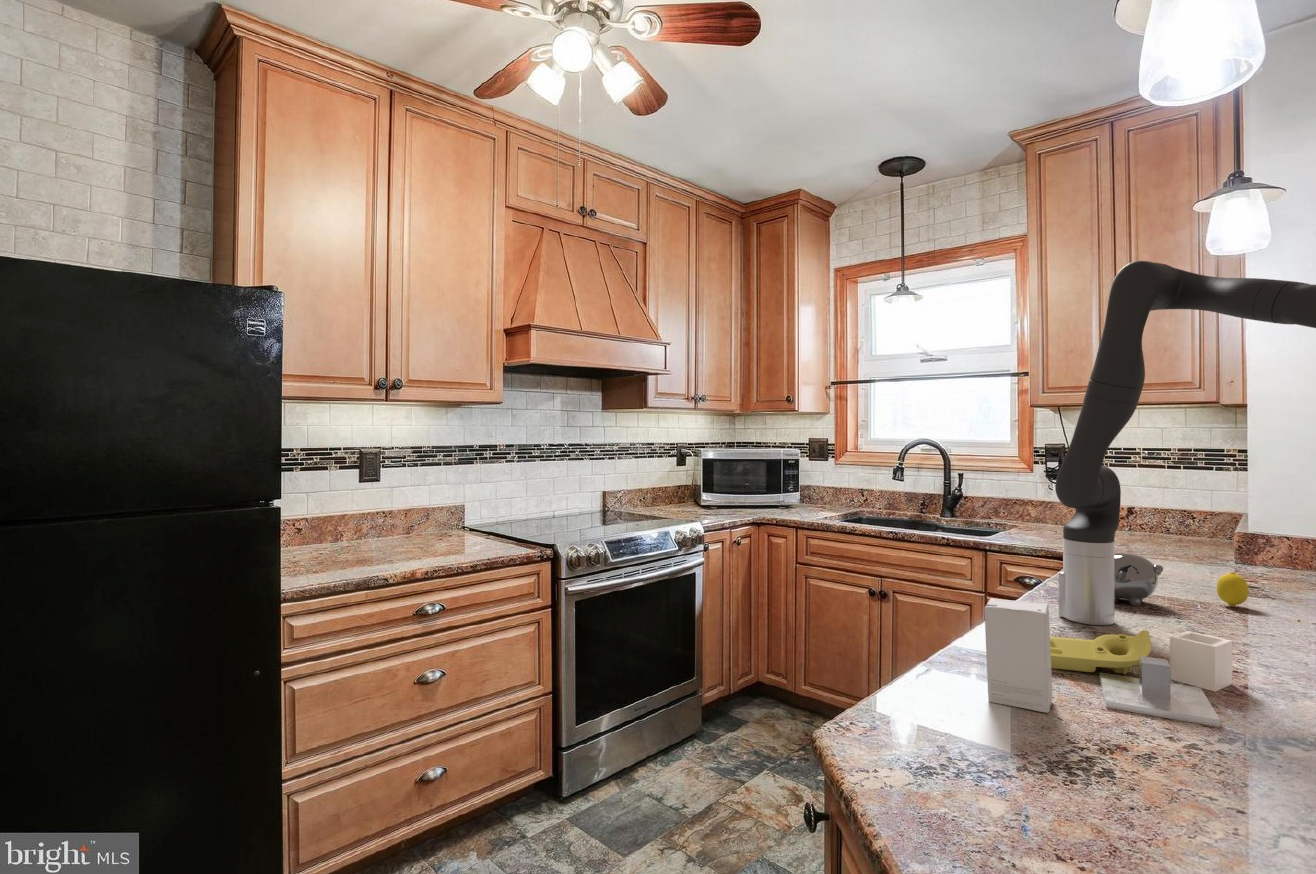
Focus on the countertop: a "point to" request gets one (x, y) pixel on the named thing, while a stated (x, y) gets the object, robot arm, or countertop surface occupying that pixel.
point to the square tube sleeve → (1201, 660)
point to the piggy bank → (1134, 577)
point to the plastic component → (1100, 652)
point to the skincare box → (1018, 654)
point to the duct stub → (1157, 694)
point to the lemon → (1232, 589)
